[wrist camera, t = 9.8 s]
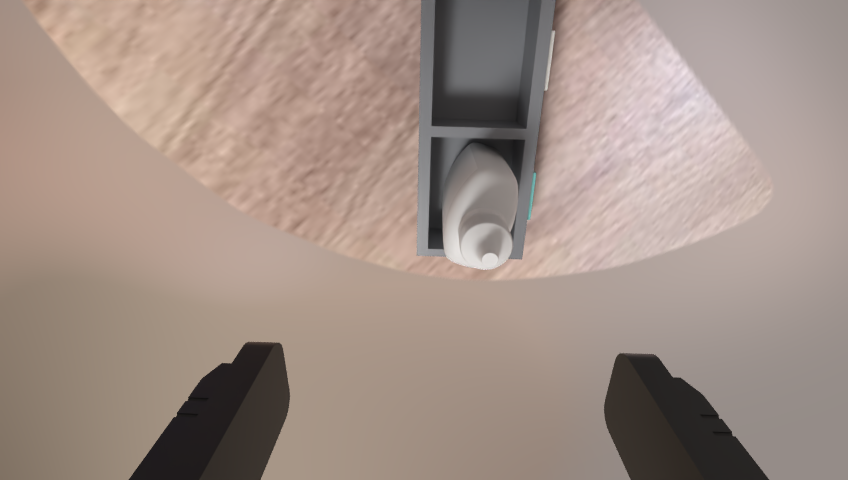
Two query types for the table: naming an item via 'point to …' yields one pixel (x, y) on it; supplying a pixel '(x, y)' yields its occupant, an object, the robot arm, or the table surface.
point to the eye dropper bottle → (479, 208)
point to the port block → (480, 98)
